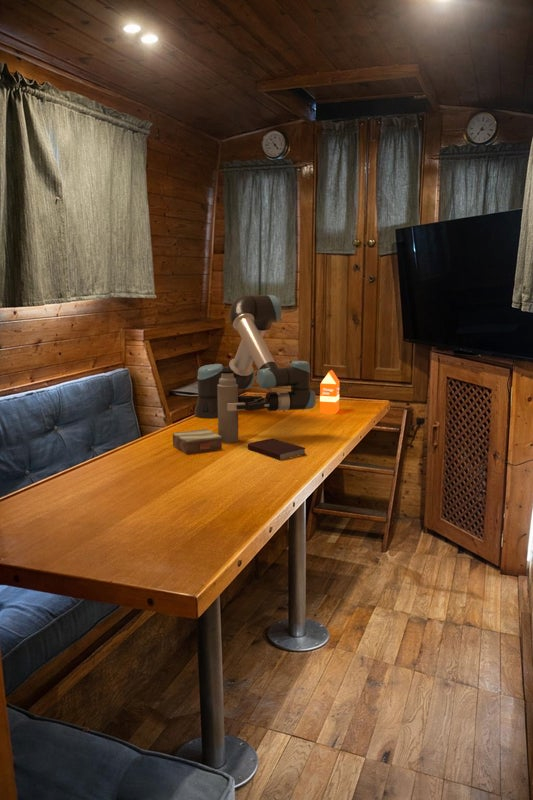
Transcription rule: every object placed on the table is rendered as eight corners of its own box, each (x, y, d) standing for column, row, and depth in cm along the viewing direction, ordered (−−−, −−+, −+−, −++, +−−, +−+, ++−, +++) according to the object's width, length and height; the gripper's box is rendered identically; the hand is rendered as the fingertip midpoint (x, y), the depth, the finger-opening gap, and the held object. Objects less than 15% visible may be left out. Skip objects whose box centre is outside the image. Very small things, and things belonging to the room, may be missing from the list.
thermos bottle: (239, 438, 261) (238, 368, 256) (237, 443, 253) (237, 371, 248) (219, 438, 261) (218, 368, 256) (217, 443, 253) (216, 371, 248)
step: (173, 445, 249) (172, 433, 248) (206, 441, 256) (206, 428, 255) (187, 454, 236) (187, 441, 236) (222, 449, 243) (222, 436, 242)
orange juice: (319, 413, 308) (320, 371, 304) (323, 410, 316) (324, 369, 312) (335, 414, 305) (336, 372, 302) (339, 411, 314) (340, 370, 310)
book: (279, 462, 229) (279, 453, 228) (247, 450, 244) (247, 442, 243) (306, 456, 236) (306, 447, 236) (273, 445, 251) (273, 437, 251)
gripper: (285, 417, 247) (230, 420, 242) (269, 404, 271) (218, 407, 266) (285, 397, 246) (230, 400, 241) (269, 387, 270) (218, 389, 265)
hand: (224, 403), depth 254 cm, fingers open, 13 cm apart
